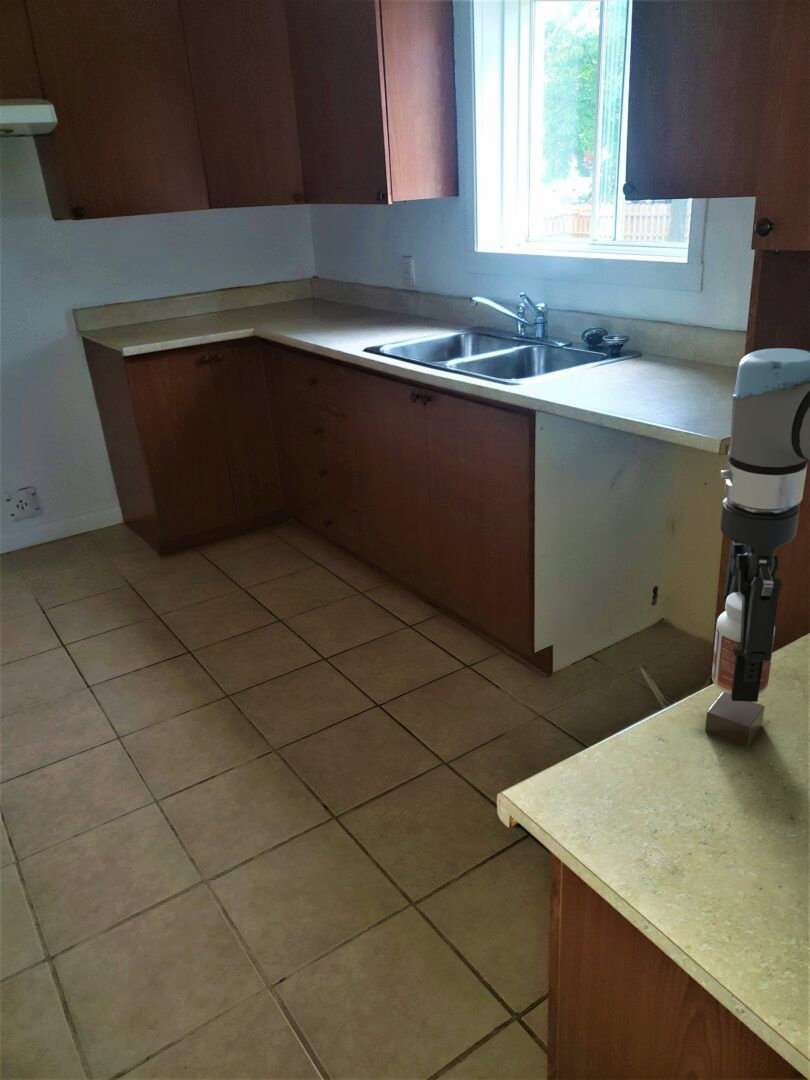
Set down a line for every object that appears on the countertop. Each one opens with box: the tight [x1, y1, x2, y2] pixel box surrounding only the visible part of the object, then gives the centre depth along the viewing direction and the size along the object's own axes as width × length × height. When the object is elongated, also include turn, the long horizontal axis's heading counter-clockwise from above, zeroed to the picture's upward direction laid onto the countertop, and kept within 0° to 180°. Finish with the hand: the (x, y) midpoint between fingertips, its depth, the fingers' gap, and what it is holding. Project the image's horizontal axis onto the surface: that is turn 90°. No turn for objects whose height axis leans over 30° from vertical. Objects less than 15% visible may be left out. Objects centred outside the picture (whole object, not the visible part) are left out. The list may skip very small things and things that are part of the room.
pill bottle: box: [711, 592, 776, 695], centre depth 93 cm, size 6×6×11 cm
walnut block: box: [704, 691, 765, 748], centre depth 98 cm, size 5×5×3 cm
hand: (738, 680), depth 96 cm, fingers closed on pill bottle, 6 cm apart
